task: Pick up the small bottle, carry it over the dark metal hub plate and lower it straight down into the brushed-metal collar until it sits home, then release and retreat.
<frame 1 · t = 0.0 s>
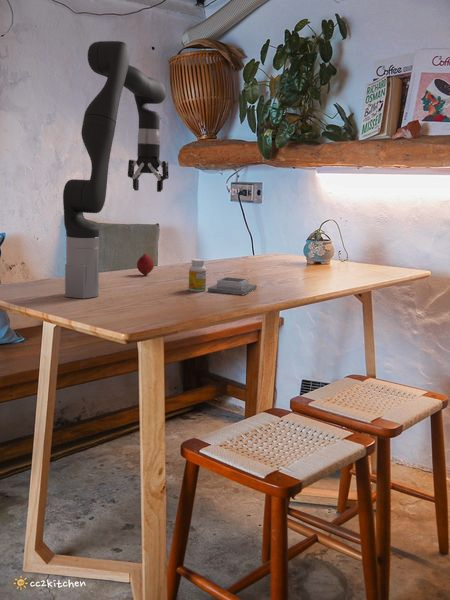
hand: (147, 191, 236), 29 cm above the table, fingers open, 8 cm apart
red fruit: (145, 276, 240), on the table
supplement bottle: (196, 290, 216), on the table
hub plate: (232, 290, 218), on the table
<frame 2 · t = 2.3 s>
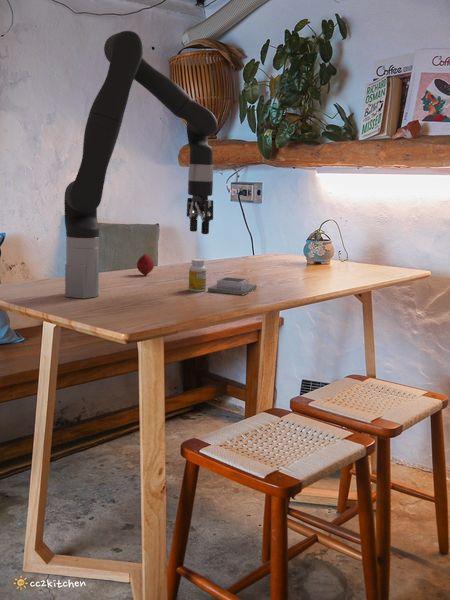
hand: (199, 232, 212), 18 cm above the table, fingers open, 8 cm apart
nothing on the table moved.
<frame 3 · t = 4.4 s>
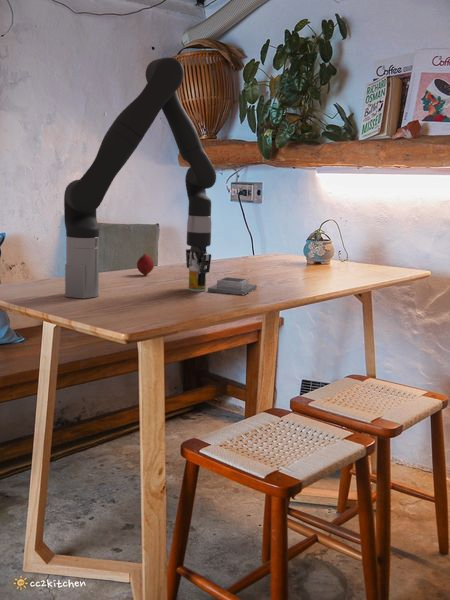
hand: (197, 283, 215), 2 cm above the table, fingers closed on supplement bottle, 5 cm apart
supplement bottle: (196, 290, 216), on the table, touching gripper
everything else where it was.
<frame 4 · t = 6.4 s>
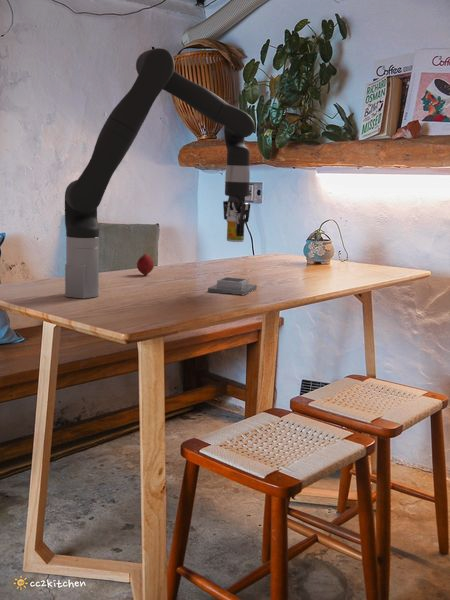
hand: (235, 234, 215), 18 cm above the table, fingers closed on supplement bottle, 5 cm apart
supplement bottle: (235, 241, 216), point 15 cm above the table, touching gripper
everything else where it was.
when the fingers open (4 cm above the table, at t = 8.7 s): supplement bottle drops 1 cm, resting on hub plate.
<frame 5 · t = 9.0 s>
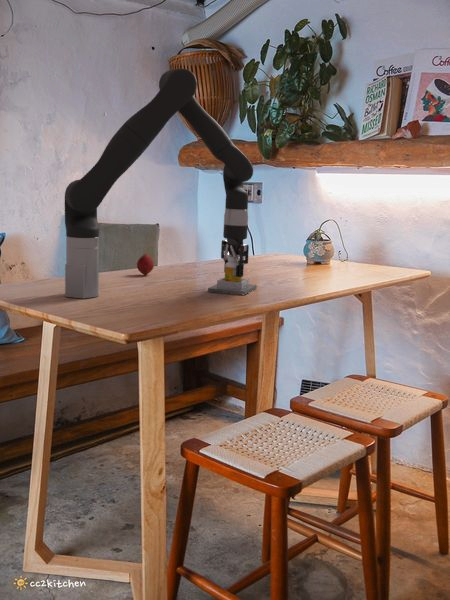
hand: (233, 274, 218), 5 cm above the table, fingers open, 7 cm apart
supplement bottle: (232, 287, 218), point 1 cm above the table, touching hub plate
everything else where it was.
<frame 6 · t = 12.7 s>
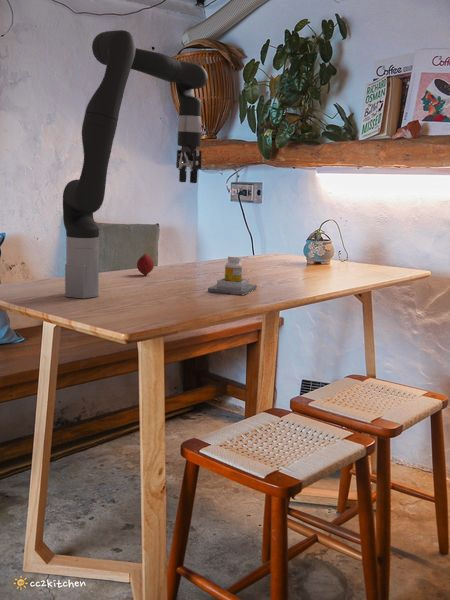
hand: (187, 182, 221), 33 cm above the table, fingers open, 8 cm apart
nothing on the table moved.
at the end: supplement bottle 0.1 cm off-centre on the hub plate, point 1.0 cm above the hub plate's base; supplement bottle tilted 0°; the gripper is holding nothing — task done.
